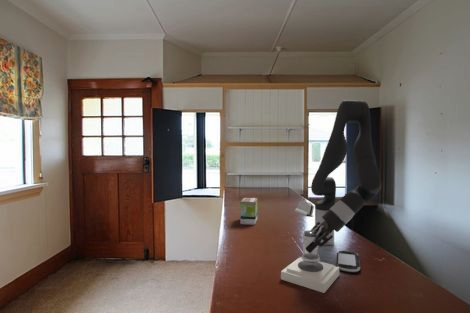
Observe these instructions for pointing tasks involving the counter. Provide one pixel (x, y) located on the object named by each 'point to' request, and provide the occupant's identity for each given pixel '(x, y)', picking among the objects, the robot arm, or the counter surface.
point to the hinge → (305, 208)
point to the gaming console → (348, 261)
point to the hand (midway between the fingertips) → (305, 247)
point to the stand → (311, 274)
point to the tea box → (248, 211)
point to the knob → (307, 239)
